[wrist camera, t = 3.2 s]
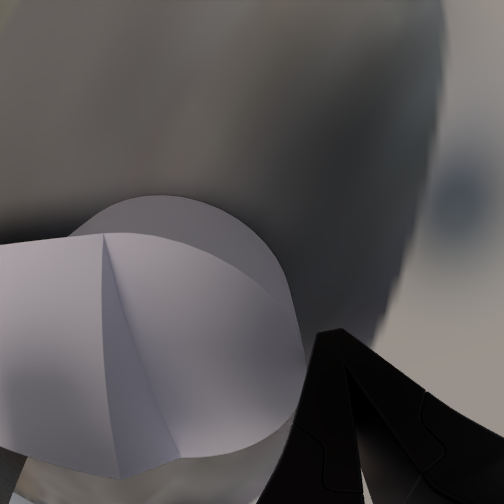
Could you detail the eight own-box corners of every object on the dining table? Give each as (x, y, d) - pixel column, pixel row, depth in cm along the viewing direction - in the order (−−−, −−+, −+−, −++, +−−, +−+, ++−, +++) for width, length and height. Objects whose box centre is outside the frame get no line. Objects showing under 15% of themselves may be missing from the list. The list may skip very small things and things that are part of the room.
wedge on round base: (41, 383, 13) (290, 391, 13) (-8, 479, 7) (310, 530, 7) (-26, 224, 10) (289, 183, 10) (-133, 301, 4) (366, 308, 3)
